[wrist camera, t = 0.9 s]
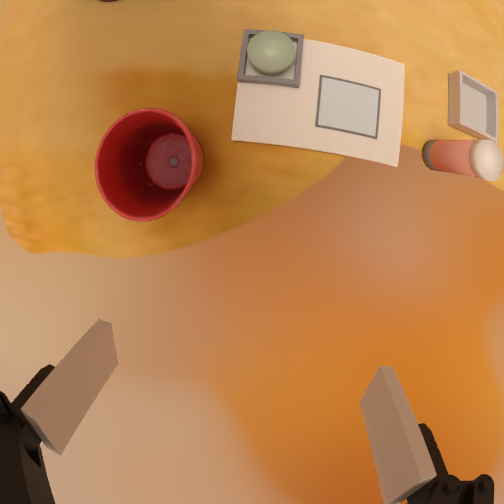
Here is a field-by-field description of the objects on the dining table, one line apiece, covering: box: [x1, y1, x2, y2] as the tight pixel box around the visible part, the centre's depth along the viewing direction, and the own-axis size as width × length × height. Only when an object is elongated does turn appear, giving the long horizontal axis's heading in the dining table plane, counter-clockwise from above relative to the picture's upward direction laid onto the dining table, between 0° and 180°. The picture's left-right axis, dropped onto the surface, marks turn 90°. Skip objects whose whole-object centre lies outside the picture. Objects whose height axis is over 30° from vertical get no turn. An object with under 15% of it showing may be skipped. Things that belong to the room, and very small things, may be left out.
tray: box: [448, 70, 498, 143], centre depth 24 cm, size 8×8×3 cm
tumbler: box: [422, 140, 503, 181], centre depth 23 cm, size 4×4×12 cm
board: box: [231, 29, 404, 167], centre depth 27 cm, size 14×20×3 cm
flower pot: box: [95, 108, 204, 221], centre depth 28 cm, size 11×11×10 cm
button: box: [247, 31, 295, 74], centre depth 24 cm, size 5×5×2 cm
